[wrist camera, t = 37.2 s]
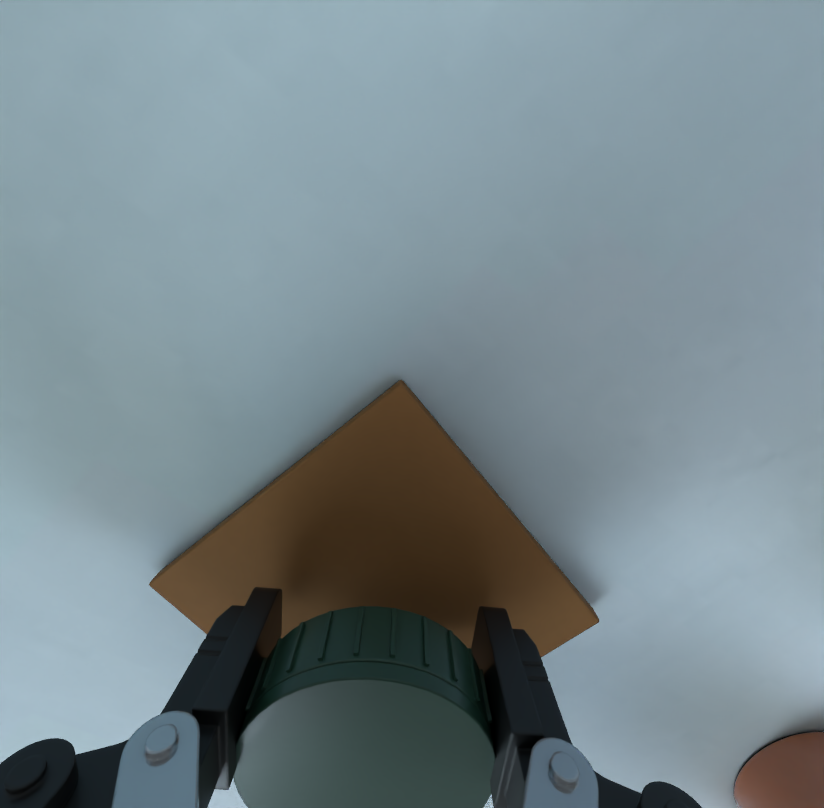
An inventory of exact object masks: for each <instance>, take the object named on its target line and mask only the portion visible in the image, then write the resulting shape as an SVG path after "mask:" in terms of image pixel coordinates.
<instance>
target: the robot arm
mask: <svg viewBox="0 0 824 808" xmlns="http://www.w3.org/2000/svg"><path fill="white" fill-rule="evenodd" d="M281 631H282V589H276V588H264V587H255V588H254V589H253V591H252V593H251V595H250V597H249V599H248V600H247V602H246V604H245V606H238V605H232V606H230V607H229V608H228V609H227V610H226V611H225V612H224V613H222V614H221V615H220V616H219V617H218V618H217V619H216V620H215V622H214V624H213V625H212V627H211V629H210V630H209V632H208V634H207V636H206V639H204V641H203V642H202V644H201V646H200V648H199V649H198V653H196V655H195V656H194V658H193V660H192V661H191V663H190V665H189V667H188V668H187V670H186V672H185V673H184V675H183V677H182V679H181V680H180V682H179V684H178V685H177V687H176V689H175V691H174V692H173V694H172V696H171V697H170V699H169V701H168V703H167V704H166V706H165V708H164V709H163V711H162V712H161V714H160V715H158V716H156V717H154V718H152V719H150V720H149V721H147V722H146V723H144V724H143V725H142V726H141V727H140V728H139V729H138V730H137V731H136V732H135V733H134V734H133V735H132V736H131V737H130V739H129V740H126V741H124V742H122V743H119V744H116V745H113V746H109V747H105V748H101V749H97V750H93V751H89V752H85V753H81V754H77V755H75V750H74V747H73V746H72V744H71V743H70V742H68V741H66V740H64V739H58V738H54V739H46V740H42V741H39V742H35V743H33V744H31V745H28V746H26V747H24V748H23V749H21V750H19V751H17V752H16V753H14V754H13V755H11V756H10V757H8V758H7V759H6V760H5V761H3V762H2V763H1V764H0V808H207V807H208V804H209V802H210V799H211V796H212V794H213V791H214V789H223V790H229V787H230V784H231V782H232V779H233V776H234V773H235V770H236V768H237V765H236V742H237V738H238V736H239V733H240V730H241V727H242V725H243V723H244V719H245V716H246V714H247V712H246V711H245V707H246V705H247V702H248V699H249V697H250V694H251V691H252V689H253V686H254V683H255V681H256V678H257V675H258V673H259V670H260V667H261V665H262V662H263V659H264V657H265V658H267V657H268V656H269V654H270V653H271V651H272V650H273V648H274V647H275V646H276V644H277V641H278V639H279V638H281ZM471 650H472V654H473V657H474V658H475V660H476V663H477V665H478V667H479V669H482V670H483V673H484V678H485V684H486V689H487V694H488V700H489V705H490V710H491V715H492V721H493V723H490V726H491V731H492V737H493V742H494V748H495V753H496V758H495V763H494V767H493V771H492V775H491V779H490V788H491V794H492V800H493V806H494V808H702V807H701V806H700V805H699V804H698V803H697V802H696V801H695V800H694V799H693V798H692V797H690V796H689V795H688V794H687V793H685V792H684V791H682V790H681V789H679V788H677V787H675V786H673V785H671V784H668V783H665V782H651V783H649V784H647V785H646V786H645V787H644V789H643V791H642V794H641V793H638V792H636V791H634V790H631V789H629V788H627V787H624V786H622V785H620V784H617V783H615V782H612V781H610V780H608V779H606V778H604V777H603V776H601V775H599V774H598V773H597V772H595V771H594V770H593V768H592V766H591V764H590V763H589V761H588V760H587V759H586V757H585V756H584V755H583V754H582V753H581V752H580V751H579V750H578V749H577V748H576V747H574V746H573V745H572V743H571V740H570V738H569V735H568V732H567V729H566V727H565V724H564V721H563V718H562V715H561V713H560V710H559V707H558V704H557V701H556V699H555V696H554V693H553V690H552V688H551V685H550V682H549V681H548V676H547V674H546V671H545V668H544V666H543V662H542V660H541V657H540V654H539V651H538V648H537V646H536V644H535V643H534V642H533V640H532V639H531V638H530V637H529V635H528V634H527V633H526V632H525V630H524V629H513V628H512V626H511V623H510V619H509V616H508V613H507V610H506V609H505V608H497V607H485V606H480V607H479V609H478V614H477V619H476V625H475V630H474V636H473V641H472V647H471Z"/></svg>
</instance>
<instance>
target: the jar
mask: <svg viewBox="0 0 824 808" xmlns="http://www.w3.org/2000/svg"><path fill="white" fill-rule="evenodd" d="M734 799H735V802H736V805H737V807H738V808H824V732H808V733H801V734H797V735H793V736H790V737H786V738H784V739H781V740H779V741H776V742H774V743H772V744H770V745H768V746H767V747H765V748H764V749H762V750H760V751H759V752H758V753H757V754H755V755H754V756H753V757H752V758H751V759H750V760H749V761H748V762H747V763H746V764H745V765H744V766H743V768H742V769H741V771H740V772H739V774H738V776H737V779H736V781H735V785H734Z"/></svg>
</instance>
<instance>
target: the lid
mask: <svg viewBox="0 0 824 808" xmlns="http://www.w3.org/2000/svg"><path fill="white" fill-rule="evenodd" d="M245 711H246V712H247V714H246V716H245V719H244V723H243V725H242V727H241V730H240V733H239V736H238V738H237V742H236V765H237V768H236V770H235V773H234V776H233V778H234V782H235V785H236V788H237V790H238V793H239V795H240V796H241V798H242V800H243V801H244V803H245V804H246V806H247V807H248V808H483V807H484V805H485V804H486V803H487V801H488V799H489V797H490V795H491V788H490V779H491V775H492V771H493V767H494V763H495V758H496V753H495V748H494V742H493V737H492V731H491V726H490V723H493V721H492V715H491V710H490V705H489V700H488V694H487V689H486V684H485V678H484V673H483V670H482V669H479V667H478V665H477V663H476V660H475V658H474V657H473V654H472V650H471V649H470V648H467V647H466V646H465V645H464V643H463V642H462V641H461V640H460V639H459V638H458V637H457V636H455V635H454V634H453V631H451V630H448V629H447V628H445V627H443V626H442V625H440V624H439V623H437V622H435V621H433V620H431V619H429V618H427V617H425V616H422V615H419V614H416V613H413V612H410V611H405V610H401V609H397V608H389V607H380V606H360V607H350V608H344V609H339V610H334V611H329V612H327V613H324V614H321V615H318V616H316V617H314V618H312V619H310V620H307V621H305V622H301V623H300V625H299V626H297V627H296V628H294V629H293V630H291V631H290V632H289V633H288V634H287V635H285V636H284V637H283V638H279V639H278V641H277V644H276V646H275V647H274V648H273V650H272V651H271V653H270V654H269V656H268V657H267V658H265V657H264V659H263V662H262V665H261V667H260V670H259V673H258V675H257V678H256V681H255V683H254V686H253V689H252V691H251V694H250V697H249V699H248V702H247V705H246V707H245Z"/></svg>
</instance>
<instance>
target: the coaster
mask: <svg viewBox="0 0 824 808" xmlns="http://www.w3.org/2000/svg"><path fill="white" fill-rule="evenodd" d="M149 585H150V586H151V587H152V588H153V589H154V590H155V591H157V592H158V593H159V594H160V595H161V596H162V597H164V598H165V599H166V600H167V601H168V602H170V603H171V604H172V605H173V606H174V607H175V608H177V609H178V610H179V611H180V612H181V613H182V614H184V615H185V616H186V617H187V618H188V619H190V620H191V621H192V622H193V623H194V624H195V625H197V626H198V627H199V628H200V629H201V630H203V631H204V632H205V633H206V634H208V632H209V630H210V629H211V627H212V625H213V624H214V622H215V620H216V619H217V618H218V617H219V616H220V615H221V614H222V613H224V612H225V611H226V610H227V609H228V608H229V607H230V606H232V605H238V606H245V604H246V602H247V600H248V599H249V597H250V595H251V593H252V591H253V589H254V588H255V587H264V588H276V589H282V631H281V638H283V637H284V636H285V635H287V634H288V633H289V632H290V631H291V630H293V629H294V628H296V627H297V626H299V625H300V623H301V622H305V621H307V620H310V619H312V618H314V617H316V616H318V615H321V614H324V613H327V612H329V611H334V610H339V609H344V608H350V607H360V606H380V607H389V608H397V609H401V610H405V611H410V612H413V613H416V614H419V615H422V616H425V617H427V618H429V619H431V620H433V621H435V622H437V623H439V624H440V625H442V626H443V627H445V628H447V629H448V630H451V631H453V634H454V635H455V636H457V637H458V638H459V639H460V640H461V641H462V642H463V643H464V645H465V646H466V647H467V648H470V649H471V647H472V641H473V636H474V630H475V625H476V619H477V614H478V609H479V607H480V606H485V607H497V608H505V609H506V610H507V613H508V616H509V619H510V623H511V626H512V628H513V629H524V630H525V632H526V633H527V634H528V635H529V637H530V638H531V639H532V640H533V642H534V643H535V644H536V646H537V648H538V651H539V654H540V657H542V656H544V655H546V654H547V653H549V652H551V651H552V650H554V649H556V648H557V647H559V646H560V645H562V644H564V643H565V642H567V641H569V640H570V639H572V638H574V637H575V636H577V635H579V634H580V633H582V632H584V631H585V630H587V629H588V628H590V627H592V626H593V625H595V624H597V623H598V622H599V619H598V617H597V615H596V613H595V612H594V610H593V608H592V607H591V606H590V605H589V603H588V602H587V601H586V600H585V599H584V597H583V596H582V595H581V594H580V593H579V591H578V590H577V589H576V588H575V587H574V585H573V584H572V583H571V582H570V581H569V579H568V578H567V577H566V576H565V575H564V573H563V572H562V571H561V570H560V569H559V567H558V566H557V565H556V564H555V563H554V561H553V560H552V559H551V558H550V557H549V555H548V554H547V553H546V552H545V551H544V549H543V548H542V547H541V546H540V545H539V543H538V542H537V541H536V540H535V539H534V537H533V536H532V535H531V534H530V533H529V531H528V530H527V529H526V528H525V527H524V525H523V524H522V523H521V522H520V521H519V519H518V518H517V517H516V516H515V515H514V513H513V512H512V511H511V510H510V509H509V507H508V506H507V505H506V504H505V503H504V501H503V500H502V499H501V498H500V497H499V495H498V494H497V493H496V492H495V491H494V489H493V488H492V487H491V486H490V485H489V483H488V482H487V481H486V480H485V479H484V477H483V476H482V475H481V474H480V473H479V471H478V470H477V469H476V468H475V467H474V465H473V464H472V463H471V462H470V461H469V459H468V458H467V457H466V456H465V455H464V453H463V452H462V451H461V450H460V449H459V447H458V446H457V445H456V444H455V443H454V441H453V440H452V439H451V438H450V437H449V435H448V434H447V433H446V432H445V431H444V429H443V428H442V427H441V426H440V425H439V423H438V422H437V421H436V420H435V419H434V417H433V416H432V415H431V414H430V413H429V411H428V410H427V409H426V408H425V407H424V405H423V404H422V403H421V402H420V401H419V399H418V398H417V397H416V396H415V395H414V393H413V392H412V391H411V390H410V389H409V387H408V386H407V385H406V384H405V383H404V381H402V380H399V381H398V382H397V383H396V384H394V385H393V386H392V387H391V388H389V389H388V390H387V391H386V392H384V393H383V394H382V395H381V396H379V397H378V398H377V399H375V400H374V401H373V402H372V403H370V404H369V405H368V406H367V407H365V408H364V409H363V410H362V411H360V412H359V413H358V414H357V415H355V416H354V417H353V418H352V419H350V420H349V421H348V422H347V423H345V424H344V425H343V426H342V427H340V428H339V429H338V430H337V431H335V432H334V433H333V434H332V435H330V436H329V437H328V438H327V439H325V440H324V441H323V442H322V443H320V444H319V445H318V446H317V447H315V448H314V449H313V450H312V451H310V452H309V453H308V454H307V455H305V456H304V457H303V458H301V459H300V460H299V461H298V462H296V463H295V464H294V465H293V466H291V467H290V468H289V469H288V470H286V471H285V472H284V473H283V474H281V475H280V476H279V477H278V478H276V479H275V480H274V481H273V482H271V483H270V484H269V485H268V486H266V487H265V488H264V489H263V490H261V491H260V492H259V493H258V494H256V495H255V496H254V497H253V498H251V499H250V500H249V501H248V502H246V503H245V504H244V505H243V506H241V507H240V508H239V509H238V510H236V511H235V512H234V513H233V514H231V515H230V516H229V517H228V518H226V519H225V520H224V521H222V522H221V523H220V524H219V525H217V526H216V527H215V528H214V529H212V530H211V531H210V532H209V533H207V534H206V535H205V536H204V537H202V538H201V539H200V540H199V541H197V542H196V543H195V544H194V545H192V546H191V547H190V548H189V549H187V550H186V551H185V552H184V553H182V554H181V555H180V556H179V557H177V558H176V559H175V560H174V561H172V562H171V563H170V564H169V565H167V566H166V567H165V568H164V569H162V570H161V571H160V572H159V573H158V574H157V575H156V576H155V577H154V578H153V579H152V581H151V582H150V584H149Z"/></svg>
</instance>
